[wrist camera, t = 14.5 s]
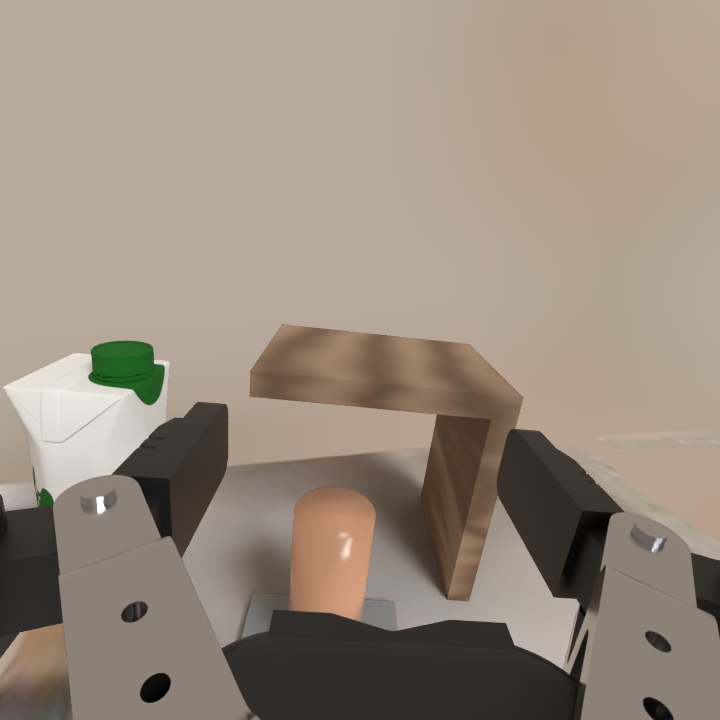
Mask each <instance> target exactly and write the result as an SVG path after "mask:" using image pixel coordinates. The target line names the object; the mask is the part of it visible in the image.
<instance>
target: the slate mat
mask: <svg viewBox="0 0 720 720" xmlns="http://www.w3.org/2000/svg"><path fill="white" fill-rule="evenodd" d="M288 609H289V595H283V594H268V593H253V594H252V598H251V602H250V606H249V609H248V613H247V617H246V621H245V625H244V629H243V632H242V636H241V639H242V638H244V637H247V636H250V635H254V634H257V633H260V632H265V631H269V628H270V623H271V618H272V613H273V610H288ZM362 622H363V623H366V624H369V625H372V626H376V627H379V628H382V629H385V630H390V631H397V624H396V615H395V607H394V602H390V601H375V600H365V602H364V609H363V617H362Z"/></svg>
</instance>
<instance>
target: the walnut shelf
mask: <svg viewBox="0 0 720 720" xmlns="http://www.w3.org/2000/svg"><path fill="white" fill-rule="evenodd" d="M250 397H260V398H271V399H282V400H293V401H302V402H313V403H323V404H335V405H345V406H355V407H365V408H376V409H386V410H387V409H388V410H397V411H408V412H418V413H429V414H437V418H436V423H435V428H434V433H433V438H432V443H431V448H430V453H429V458H428V463H427V469H426V474H425V479H424V484H423V489H422V494H421V501H422V505H423V509H424V513H425V517H426V521H427V524H428V528H429V532H430V536H431V540H432V544H433V547H434V551H435V555H436V559H437V563H438V567H439V570H440V574H441V578H442V582H443V586H444V590H445V593H446V597H447V600H461V601H469V599H470V595H471V592H472V588H473V584H474V580H475V577H476V573H477V569H478V565H479V562H480V558H481V554H482V550H483V547H484V543H485V539H486V536H487V532H488V528H489V524H490V521H491V517H492V513H493V509H494V506H495V502H496V498H497V494H498V492H497V475H498V471H499V467H500V462H501V458H502V454H503V450H504V446H505V442H506V438H507V435H508V433H509V431H510V430H511V429H515V427H516V423H517V419H518V415H519V412H520V409H521V405H522V401H523V397H522V396H521V395H520V394H519V393H518V392H517V391H516V390H515V389H514V388H513V387H512V386H511V385H510V384H509V383H508V382H507V381H506V380H505V379H504V378H503V377H502V376H501V375H500V374H499V373H498V372H497V371H496V370H495V369H494V368H493V367H492V366H491V365H490V364H489V363H488V362H487V361H486V360H485V359H484V358H483V357H482V356H481V355H480V354H479V353H478V352H477V351H476V350H475V349H474V348H473V347H472V346H471V345H470V344H462V343H453V342H444V341H434V340H425V339H415V338H406V337H396V336H387V335H377V334H368V333H359V332H349V331H340V330H330V329H321V328H311V327H301V326H293V325H283V324H282V325H281V327H280V328H279V329H278V331H277V332H276V334H275V335H274V337H273V338H272V340H271V341H270V343H269V344H268V346H267V347H266V349H265V350H264V352H263V353H262V355H261V356H260V357H259V359H258V360H257V362H256V363H255V365H254V366H253V368H252V369H251V371H250Z"/></svg>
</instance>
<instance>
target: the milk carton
mask: <svg viewBox="0 0 720 720" xmlns="http://www.w3.org/2000/svg"><path fill="white" fill-rule="evenodd" d="M169 367H170V363H169V362H168V361H161V360H154V353H153V347H152V346H151V345H150V344H147V343H144V342H138V341H114V342H107V343H103V344H99V345H97V346H95V347H93V348H92V350H91V354H81V353H74V354H71V355H69V356H67V357H65V358H63V359H61V360H59V361H57V362H55V363H52V364H50V365H48V366H46V367H44V368H42V369H40V370H38V371H35V372H33V373H31V374H29V375H27V376H25V377H23V378H21V379H18V380H16V381H14V382H12V383H10V384H8V385H6V386H4V387H3V388H4V390H5V392H6V394H7V396H8V398H9V400H10V402H11V404H12V406H13V408H14V410H15V412H16V414H17V416H18V418H19V420H20V422H21V424H22V426H23V428H24V430H25V433H26V438H27V443H28V449H29V455H30V461H31V467H32V473H33V478H34V485H35V491H36V497H37V503H38V507H45V506H52V505H53V504H54V502H55V500H56V499H57V497H58V496H59V495H60V494H61V493H62V492H64V491H65V490H66V489H68V488H69V487H71V486H73V485H75V484H77V483H79V482H81V481H84V480H87V479H90V478H94V477H99V476H105V475H111V474H112V473H113V472H114V471H115V470H116V469H117V468H118V467H119V466H120V465H121V464H122V463H123V462H124V461H125V460H126V459H127V458H128V457H129V456H130V455H131V454H132V453H133V452H134V451H135V450H136V449H137V448H139V446H140V445H141V443H142V442H143V441H144V440H145V439H148V436H149V435H150V434H151V433H152V432H153V431H154V430H155V429H156V428H157V427H158V426H160V425H162V424H164V423H166V408H167V393H168V380H169Z"/></svg>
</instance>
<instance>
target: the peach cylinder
mask: <svg viewBox="0 0 720 720" xmlns="http://www.w3.org/2000/svg"><path fill="white" fill-rule="evenodd" d="M375 519H376V513H375V509H374V507H373V505H372V503H371V502H370V501H369V500H368V499H367V498H366V497H365V496H363V495H362V494H360V493H358V492H356V491H354V490H351V489H348V488H343V487H332V486H330V487H321V488H317V489H314V490H312V491H309V492H307V493H306V494H304V495H303V496H302V497H301V498H300V499H299V500H298V501H297V503H296V505H295V509H294V523H293V540H292V557H291V575H290V592H289V609H288V610H289V611H306V612H323V613H333V614H337V615H340V616H343V617H346V618H350V619H353V620H356V621H359V622H362V617H363V609H364V602H365V594H366V587H367V579H368V571H369V564H370V556H371V549H372V541H373V534H374V526H375Z"/></svg>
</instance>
